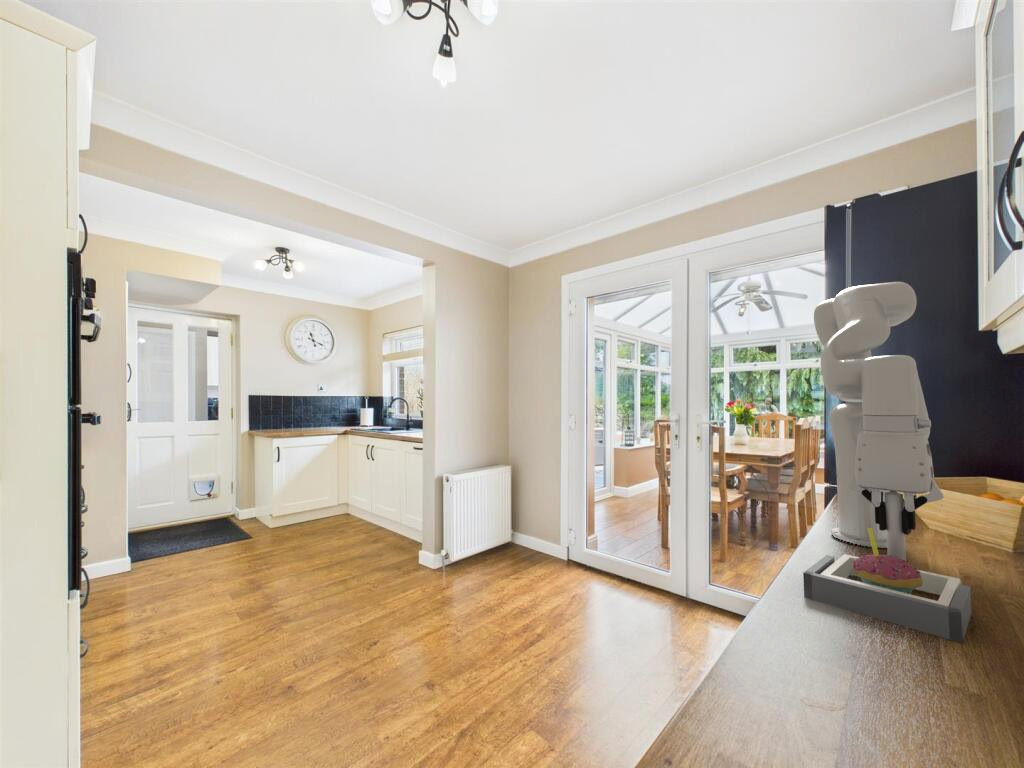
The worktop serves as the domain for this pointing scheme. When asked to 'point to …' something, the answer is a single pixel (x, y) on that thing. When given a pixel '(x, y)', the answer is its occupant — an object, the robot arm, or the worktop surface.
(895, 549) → the collar
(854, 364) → the robot arm
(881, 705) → the worktop surface
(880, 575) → the pink frosted cake
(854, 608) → the holder bay
